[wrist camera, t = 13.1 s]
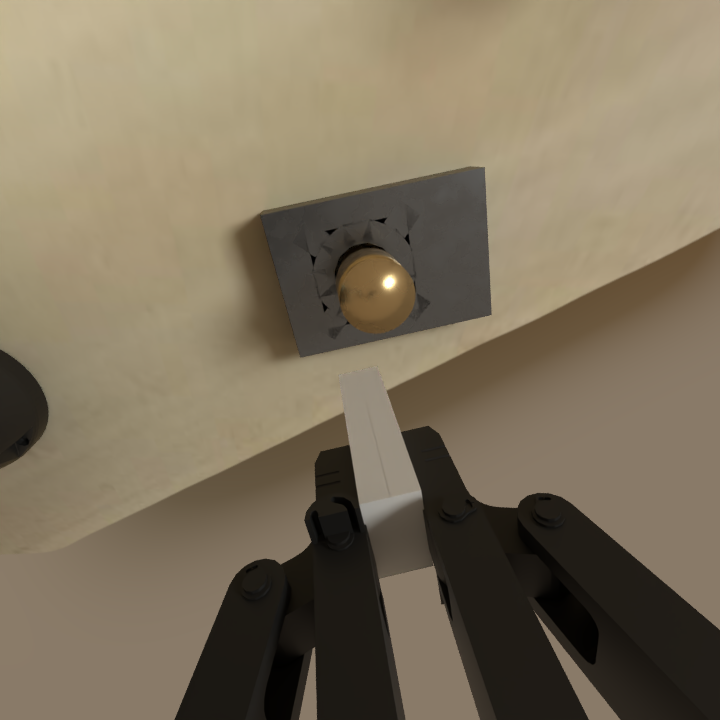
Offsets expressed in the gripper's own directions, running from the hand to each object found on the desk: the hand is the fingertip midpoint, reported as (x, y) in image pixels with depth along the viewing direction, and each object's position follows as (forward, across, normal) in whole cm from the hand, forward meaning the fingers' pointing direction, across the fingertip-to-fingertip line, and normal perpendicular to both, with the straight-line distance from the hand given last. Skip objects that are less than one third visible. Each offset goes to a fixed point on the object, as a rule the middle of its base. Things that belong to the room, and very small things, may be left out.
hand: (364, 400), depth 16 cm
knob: (+28, +3, -2) cm, 29 cm away
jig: (+28, +5, -2) cm, 29 cm away
